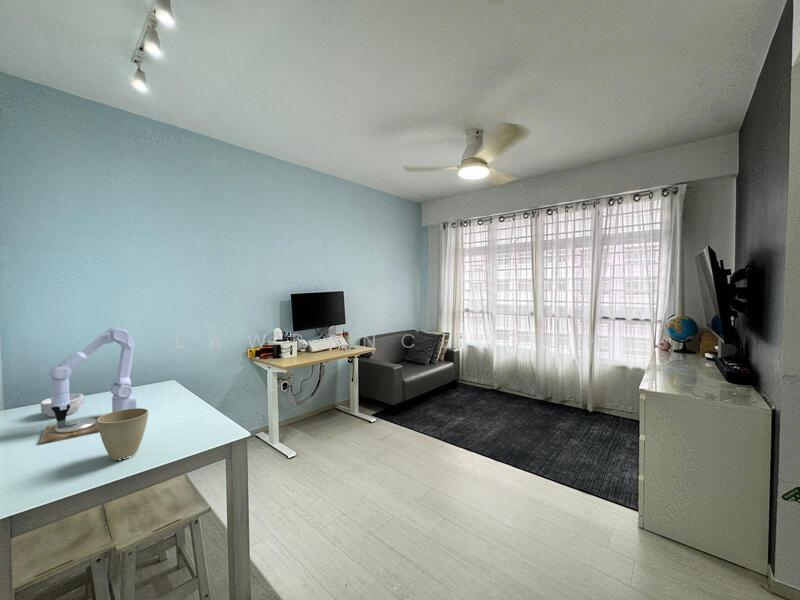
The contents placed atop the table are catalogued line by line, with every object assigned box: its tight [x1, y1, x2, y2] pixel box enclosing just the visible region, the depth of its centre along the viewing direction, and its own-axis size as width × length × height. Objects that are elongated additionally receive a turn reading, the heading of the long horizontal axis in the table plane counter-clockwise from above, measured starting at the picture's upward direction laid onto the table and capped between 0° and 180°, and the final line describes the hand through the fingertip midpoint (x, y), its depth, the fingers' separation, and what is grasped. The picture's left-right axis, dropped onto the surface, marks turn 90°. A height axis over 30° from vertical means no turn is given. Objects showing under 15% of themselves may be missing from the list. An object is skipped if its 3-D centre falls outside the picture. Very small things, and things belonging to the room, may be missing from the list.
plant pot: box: [97, 407, 149, 461], centre depth 124 cm, size 15×15×16 cm
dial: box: [55, 418, 96, 433], centre depth 146 cm, size 13×13×4 cm
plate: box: [39, 415, 102, 446], centre depth 146 cm, size 20×20×1 cm
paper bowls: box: [40, 393, 85, 418], centre depth 165 cm, size 15×15×8 cm
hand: (61, 422), depth 146 cm, fingers closed
